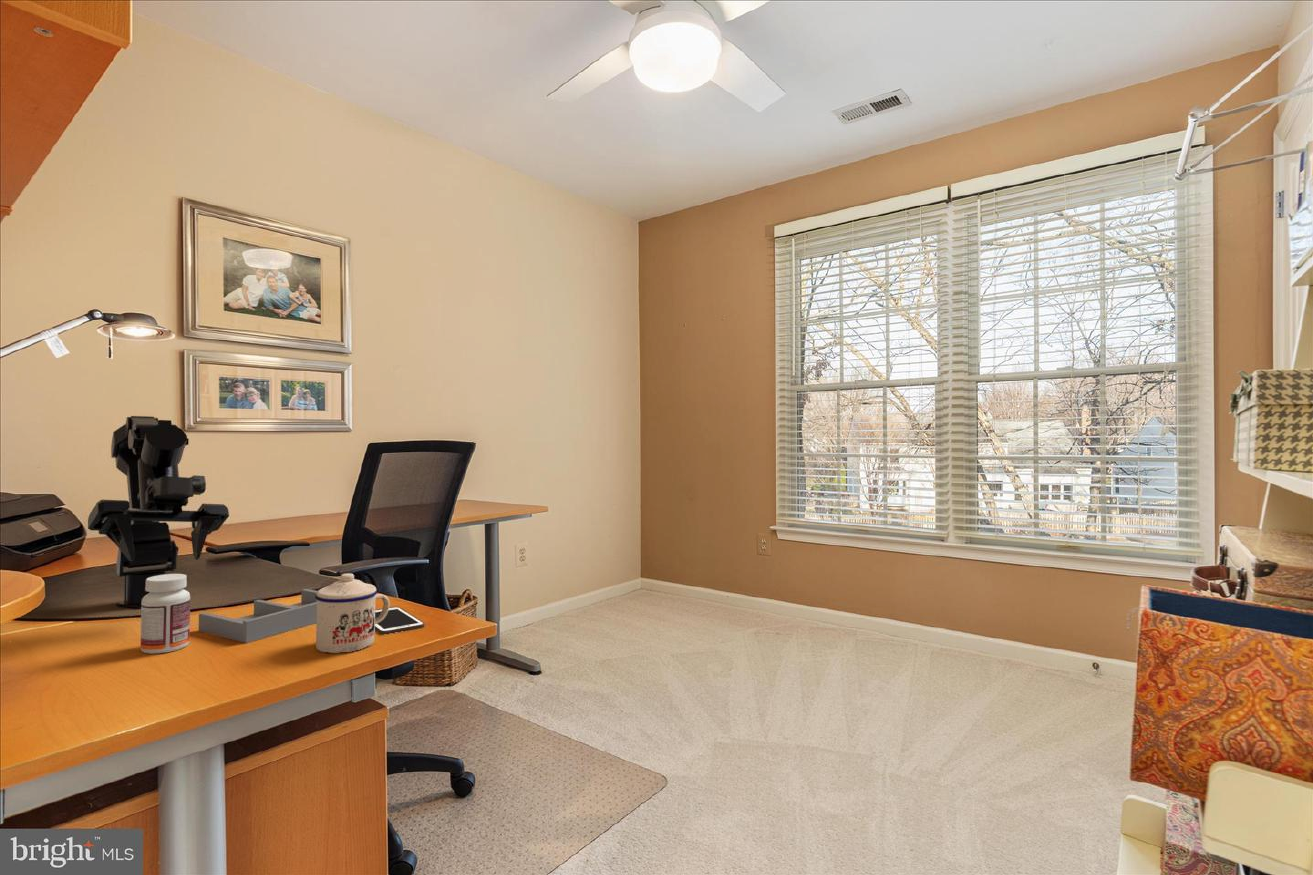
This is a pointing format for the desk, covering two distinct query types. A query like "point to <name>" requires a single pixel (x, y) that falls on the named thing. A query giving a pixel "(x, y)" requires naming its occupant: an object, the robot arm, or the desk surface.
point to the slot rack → (263, 619)
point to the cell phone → (397, 621)
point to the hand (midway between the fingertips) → (165, 559)
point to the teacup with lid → (347, 615)
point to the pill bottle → (165, 614)
